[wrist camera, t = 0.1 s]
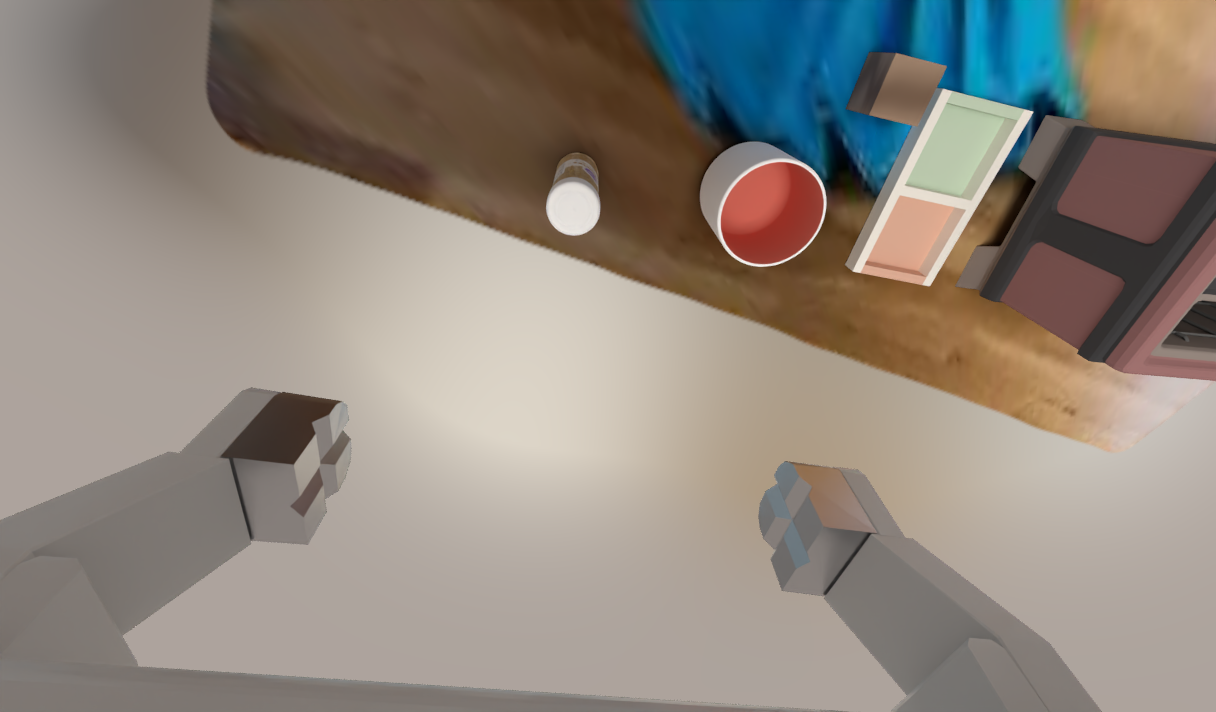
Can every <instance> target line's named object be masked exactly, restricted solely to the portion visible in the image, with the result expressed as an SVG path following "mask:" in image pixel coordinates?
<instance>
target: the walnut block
mask: <svg viewBox="0 0 1216 712" xmlns="http://www.w3.org/2000/svg"><path fill="white" fill-rule="evenodd" d="M946 67H947V66H944V65H940V64H936V63H932V62H929V61H925V60H921V59H917V58H913V57H909V56H906V55H902V54H898V53H882V52H869V54H868V56H867V59H866V61H865V64H864V66H863V68H862V71H861V73H860V76H859V78H858V80H857V83H856V85H855V88H854V90H853V93H852V95H851V97H850V100H849V102H848V105H847V107H846V109H848V110H852V111H855V112H859V113H863V114H867V115H871V116H875V117H879V118H883V119H887V120H891V121H896V122H900V123H904V124H908V125H912V126H916V127H917V126H918V124H919V122H920V120H921V118H922V116H923V114H924V112H925V110H926V108H927V106H928V104H929V102H930V100H931V98H932V96H933V94H934V92H935V90H936V88H937V86H938V84H939V82H940V80H941V78H942V75H943V73H944V71H945V69H946Z"/></svg>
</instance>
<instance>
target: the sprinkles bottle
mask: <svg viewBox="0 0 1216 712" xmlns="http://www.w3.org/2000/svg"><path fill="white" fill-rule="evenodd" d="M598 178H599V173H598V169H597V166H596V164H595V162H594V161H593V160H592V158H590V157H589V156H587V155H586V154H583V153H578V152H576V153H571V154H568V155H566V156H565V157H564V158H562V159H561V160H560V162H559V164H558V166H557V169H556V175H555V178H554V182H553V186H552V188H551V190H550V192H549V195H548V198H547V204H546V211H547V216H548V218H549V220H550V222H551V224H552V225H553V226H554V227H555V228H556V229H557V230H558V231H560V232H562V233H564V234H567V235H581V234H584V233H586V232H588V231H589V230H591V229H592V228H593V227H594V226H595V224H596V223H597V221H598V218H599V215H600V198H599V195H598Z"/></svg>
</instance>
